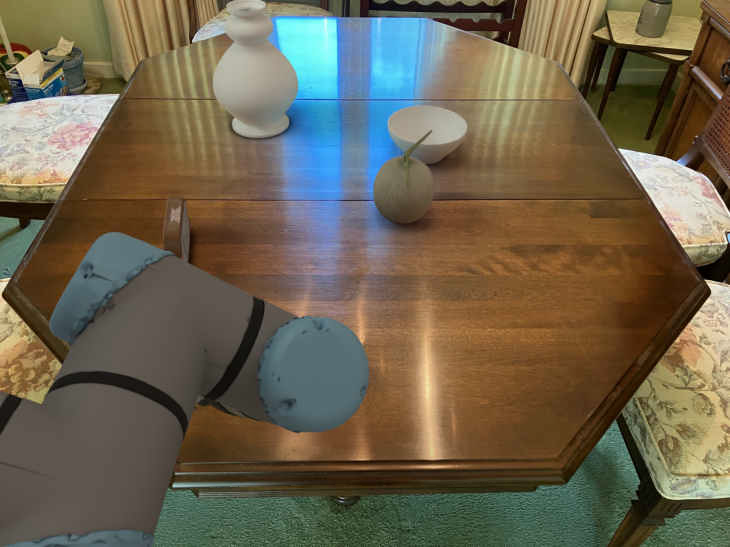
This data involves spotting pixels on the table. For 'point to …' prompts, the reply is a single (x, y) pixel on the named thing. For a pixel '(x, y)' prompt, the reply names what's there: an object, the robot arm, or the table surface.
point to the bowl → (418, 122)
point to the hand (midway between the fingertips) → (194, 373)
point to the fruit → (403, 188)
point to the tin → (177, 228)
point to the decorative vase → (254, 74)
